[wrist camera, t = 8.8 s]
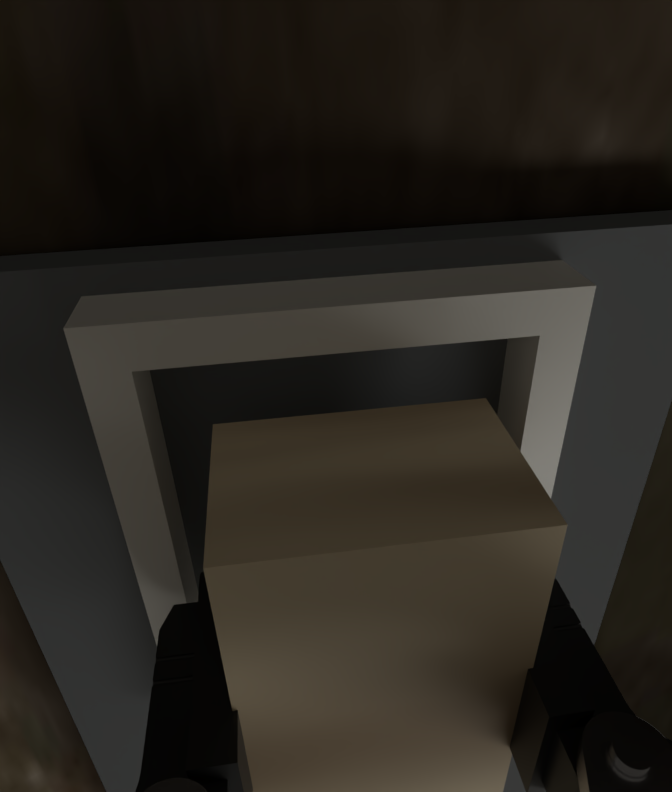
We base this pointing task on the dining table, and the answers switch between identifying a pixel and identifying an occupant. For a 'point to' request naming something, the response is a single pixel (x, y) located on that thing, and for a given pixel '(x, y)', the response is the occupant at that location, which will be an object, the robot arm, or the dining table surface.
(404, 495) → the tan rectangular block
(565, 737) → the robot arm
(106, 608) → the mat
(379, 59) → the dining table surface
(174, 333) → the slot frame
